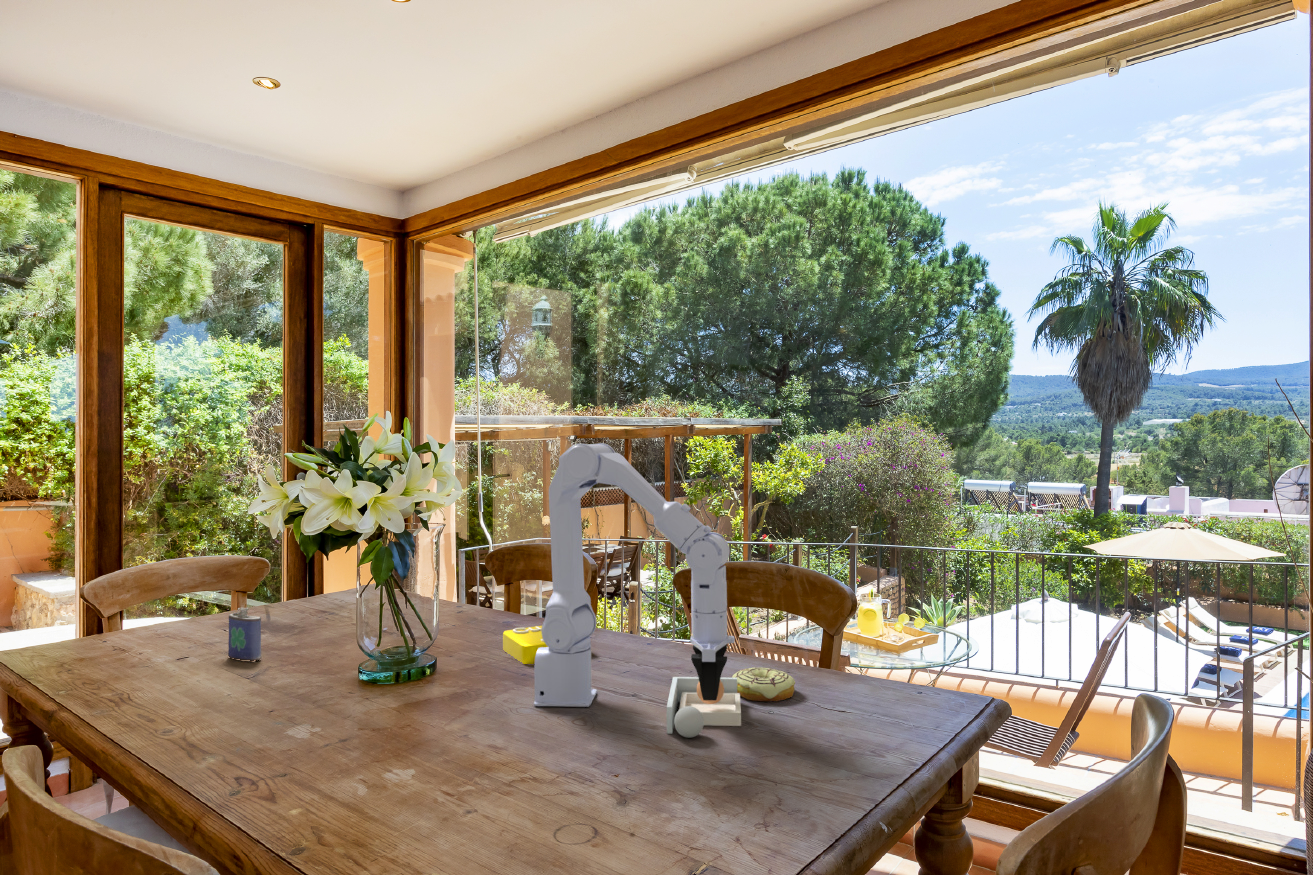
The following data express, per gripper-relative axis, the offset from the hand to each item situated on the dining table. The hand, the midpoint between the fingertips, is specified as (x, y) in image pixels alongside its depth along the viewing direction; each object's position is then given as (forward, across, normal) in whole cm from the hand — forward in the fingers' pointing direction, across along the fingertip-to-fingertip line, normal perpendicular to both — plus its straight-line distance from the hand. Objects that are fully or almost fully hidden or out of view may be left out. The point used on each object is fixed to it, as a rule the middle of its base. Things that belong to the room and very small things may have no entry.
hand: (710, 694), depth 125 cm
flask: (+3, +28, +97) cm, 101 cm away
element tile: (+4, +36, +35) cm, 50 cm away
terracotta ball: (+1, 0, 0) cm, 1 cm away
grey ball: (+3, -10, +3) cm, 10 cm away
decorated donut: (+4, +11, -9) cm, 15 cm away
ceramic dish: (+3, 0, 0) cm, 3 cm away
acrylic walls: (+3, -1, +1) cm, 3 cm away
